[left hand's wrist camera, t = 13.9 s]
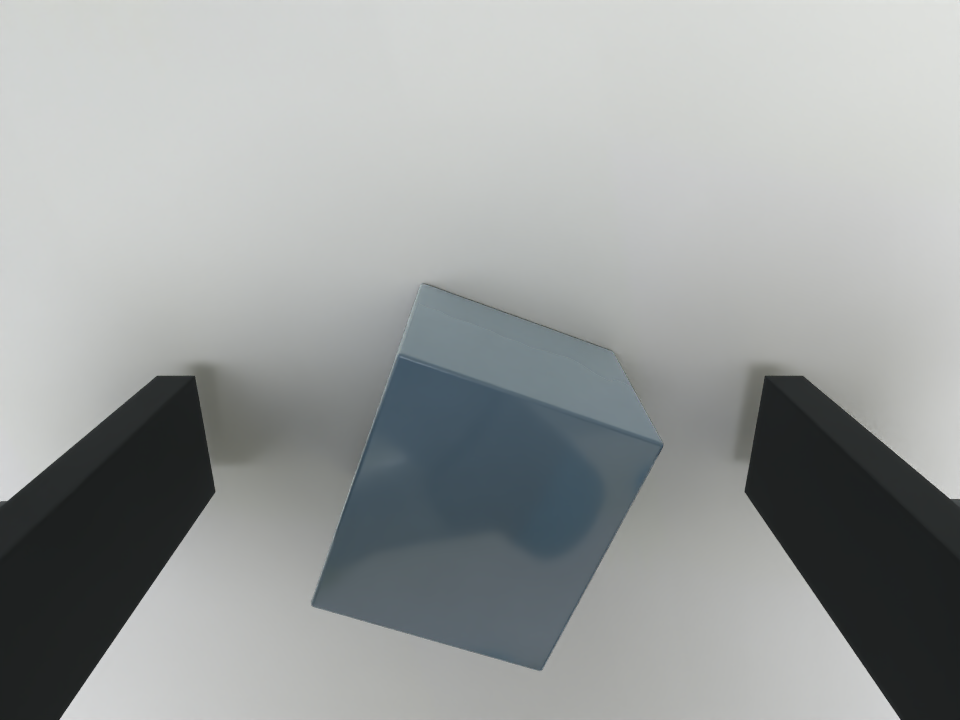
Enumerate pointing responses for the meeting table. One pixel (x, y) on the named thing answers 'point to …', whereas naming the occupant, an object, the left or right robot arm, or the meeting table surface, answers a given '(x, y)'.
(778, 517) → the left robot arm
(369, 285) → the meeting table surface
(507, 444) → the block
